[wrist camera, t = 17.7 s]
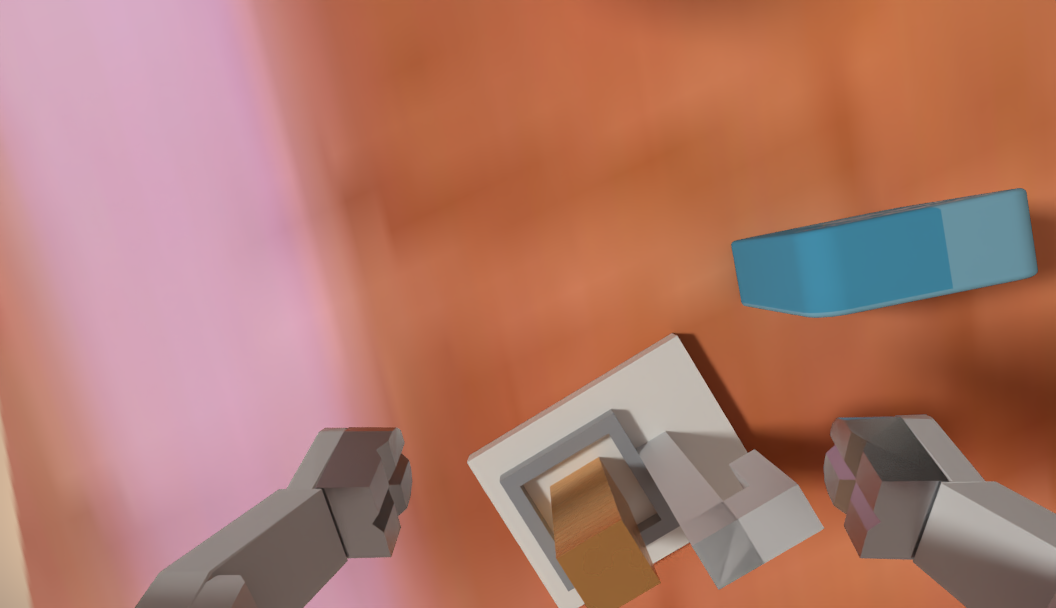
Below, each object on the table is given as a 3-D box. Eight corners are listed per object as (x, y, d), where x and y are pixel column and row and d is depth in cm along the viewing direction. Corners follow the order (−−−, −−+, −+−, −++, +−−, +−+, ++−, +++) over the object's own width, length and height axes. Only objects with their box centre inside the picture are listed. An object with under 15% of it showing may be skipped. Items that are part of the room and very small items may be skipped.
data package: (892, 208, 40) (1044, 183, 28) (902, 271, 41) (1057, 273, 29) (723, 242, 41) (804, 232, 29) (735, 305, 41) (819, 320, 29)
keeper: (562, 603, 42) (581, 797, 27) (469, 455, 42) (433, 566, 26) (763, 485, 42) (901, 614, 26) (671, 333, 41) (757, 372, 26)
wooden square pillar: (579, 533, 40) (595, 621, 30) (549, 486, 40) (556, 558, 30) (628, 504, 40) (660, 582, 30) (598, 456, 40) (621, 519, 30)
